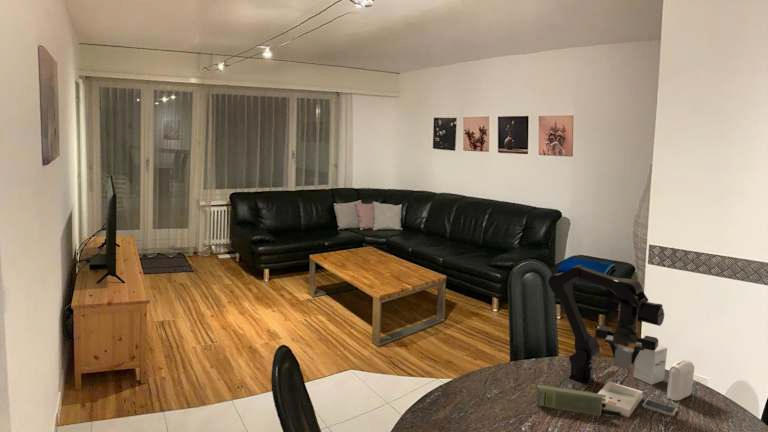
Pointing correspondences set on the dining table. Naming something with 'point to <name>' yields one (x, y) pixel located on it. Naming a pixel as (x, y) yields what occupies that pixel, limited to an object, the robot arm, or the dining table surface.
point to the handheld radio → (572, 400)
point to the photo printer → (680, 380)
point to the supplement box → (651, 365)
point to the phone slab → (659, 407)
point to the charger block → (623, 357)
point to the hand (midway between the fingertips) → (624, 361)
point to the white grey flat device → (620, 398)
